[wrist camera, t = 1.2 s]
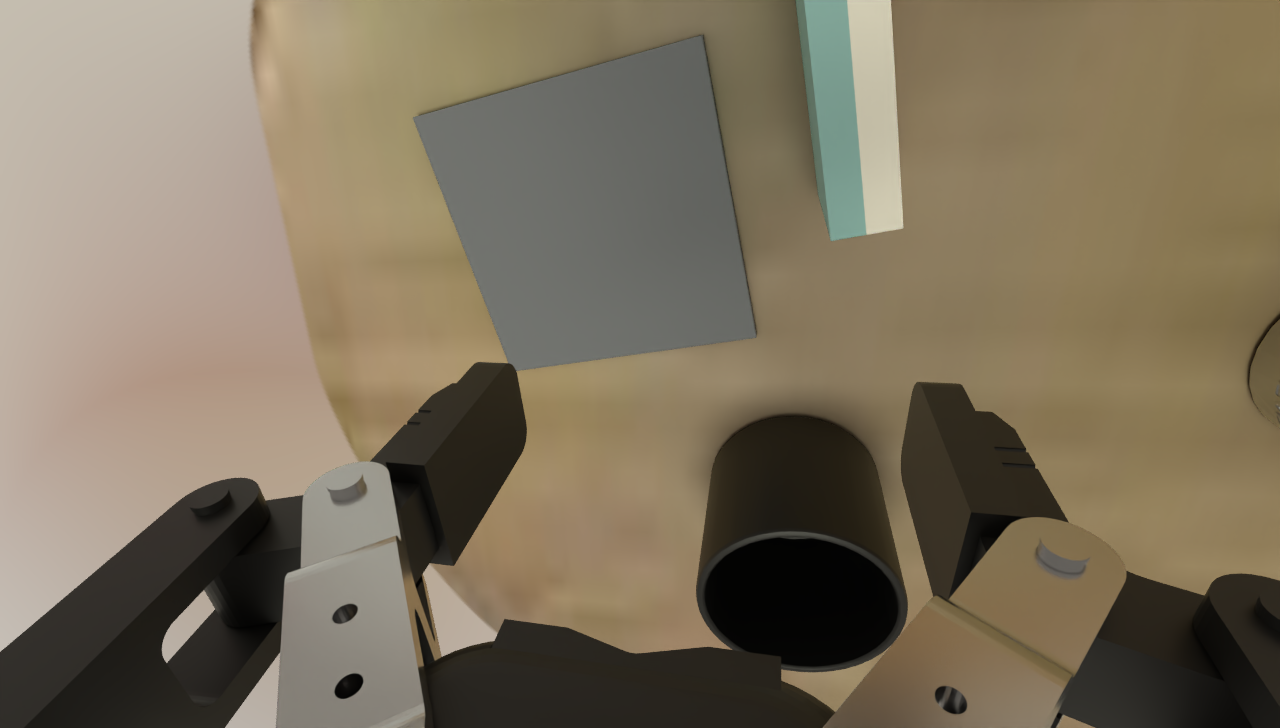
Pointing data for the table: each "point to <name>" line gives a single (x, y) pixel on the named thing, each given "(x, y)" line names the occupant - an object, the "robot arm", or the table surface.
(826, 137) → the block
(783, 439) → the mug
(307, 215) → the table surface
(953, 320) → the table surface
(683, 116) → the mat
